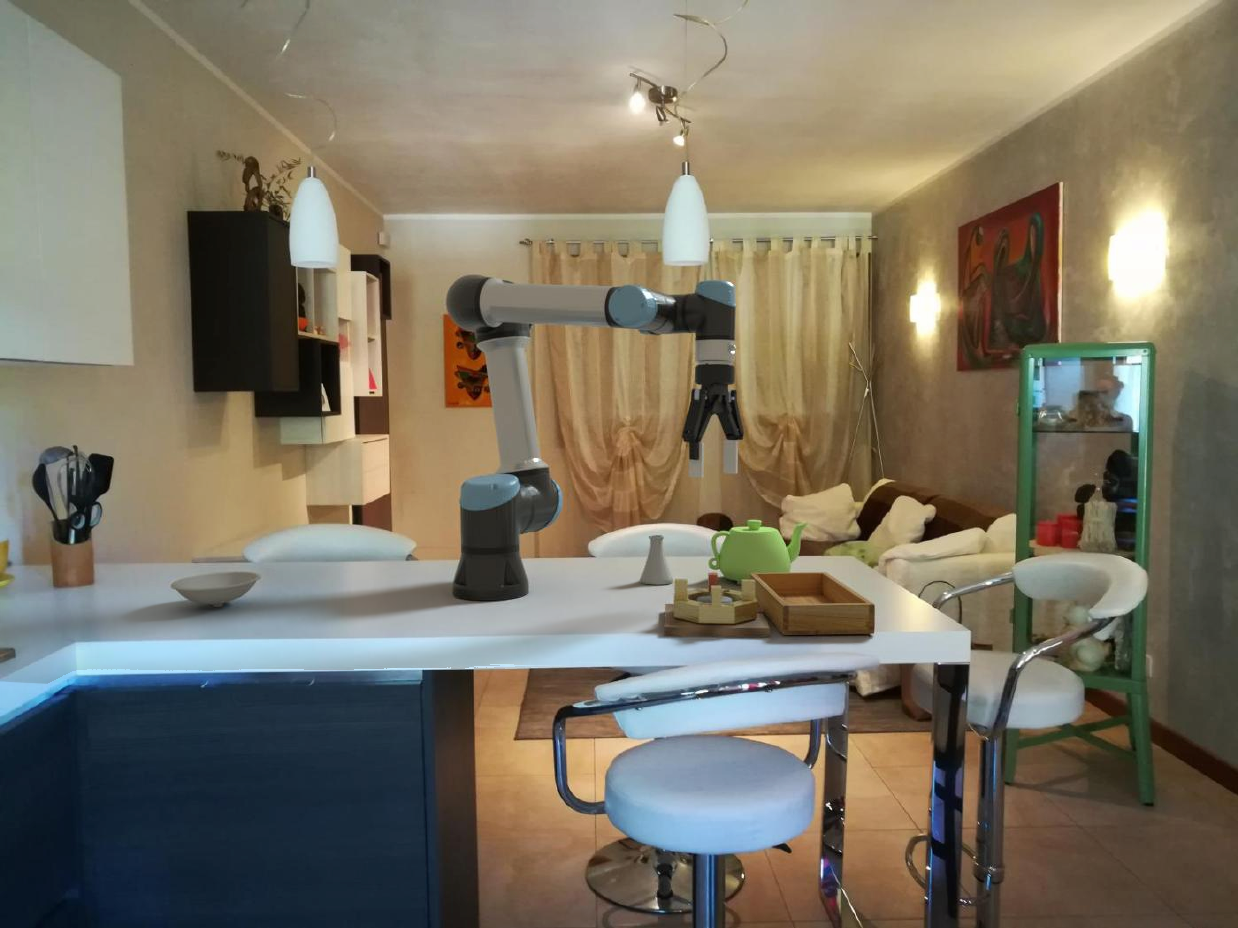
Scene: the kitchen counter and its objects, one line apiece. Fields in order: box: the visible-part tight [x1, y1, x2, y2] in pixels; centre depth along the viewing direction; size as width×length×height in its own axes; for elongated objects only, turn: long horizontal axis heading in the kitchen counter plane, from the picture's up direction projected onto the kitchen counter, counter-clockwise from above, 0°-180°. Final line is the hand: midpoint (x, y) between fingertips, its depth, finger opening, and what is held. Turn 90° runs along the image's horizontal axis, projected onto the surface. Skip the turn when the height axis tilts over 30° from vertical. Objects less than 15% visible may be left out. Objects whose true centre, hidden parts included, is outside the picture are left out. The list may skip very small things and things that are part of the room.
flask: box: [639, 534, 674, 586], centre depth 189 cm, size 7×7×10 cm
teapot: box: [708, 519, 811, 586], centre depth 190 cm, size 22×15×13 cm
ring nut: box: [673, 572, 757, 624], centre depth 152 cm, size 14×14×6 cm
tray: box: [750, 571, 876, 636], centre depth 159 cm, size 31×15×6 cm, turn 1°
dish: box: [170, 570, 262, 608], centre depth 167 cm, size 18×14×5 cm
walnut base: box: [664, 595, 771, 638], centre depth 153 cm, size 17×17×4 cm
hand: (713, 475), depth 170 cm, fingers open, 13 cm apart
